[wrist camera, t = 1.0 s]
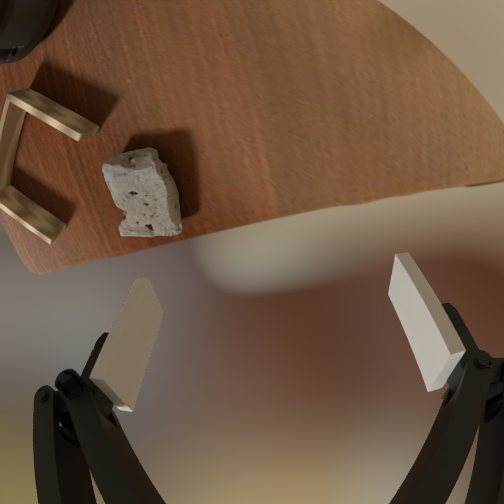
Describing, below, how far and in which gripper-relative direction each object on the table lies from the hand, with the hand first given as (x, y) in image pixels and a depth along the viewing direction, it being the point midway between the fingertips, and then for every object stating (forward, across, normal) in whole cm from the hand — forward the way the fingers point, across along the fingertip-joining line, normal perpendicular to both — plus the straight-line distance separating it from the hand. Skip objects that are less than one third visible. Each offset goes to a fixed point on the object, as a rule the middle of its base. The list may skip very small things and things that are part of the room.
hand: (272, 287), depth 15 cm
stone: (+21, -22, -2) cm, 30 cm away
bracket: (+24, -33, +8) cm, 42 cm away
